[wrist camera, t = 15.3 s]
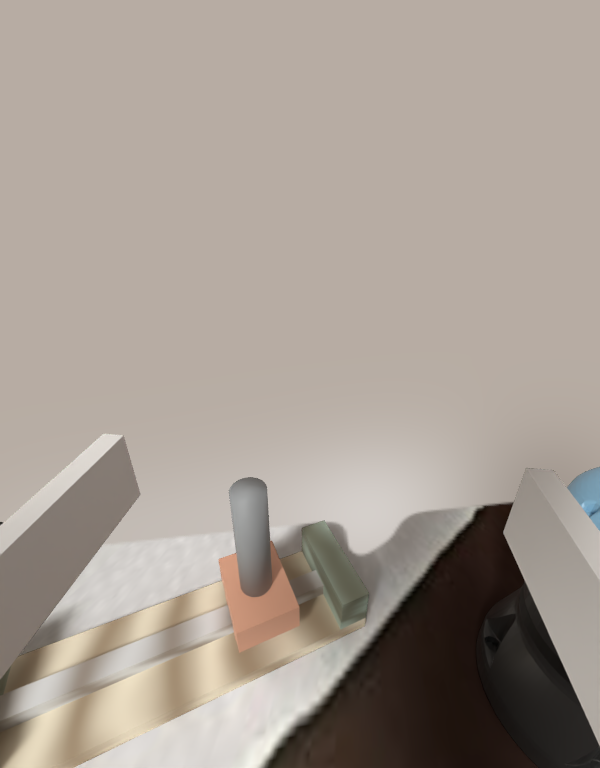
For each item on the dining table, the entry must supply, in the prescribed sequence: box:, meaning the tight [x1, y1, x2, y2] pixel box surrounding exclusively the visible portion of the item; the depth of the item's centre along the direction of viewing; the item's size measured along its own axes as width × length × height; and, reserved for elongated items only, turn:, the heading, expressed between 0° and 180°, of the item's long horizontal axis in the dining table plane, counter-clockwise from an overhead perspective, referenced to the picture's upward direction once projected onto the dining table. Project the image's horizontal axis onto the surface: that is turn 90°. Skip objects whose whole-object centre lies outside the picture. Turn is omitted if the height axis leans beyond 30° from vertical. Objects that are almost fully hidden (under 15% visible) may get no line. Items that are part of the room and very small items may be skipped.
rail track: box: [0, 521, 369, 768], centre depth 34 cm, size 36×10×6 cm, turn 113°
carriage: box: [219, 477, 300, 653], centre depth 33 cm, size 6×8×16 cm
